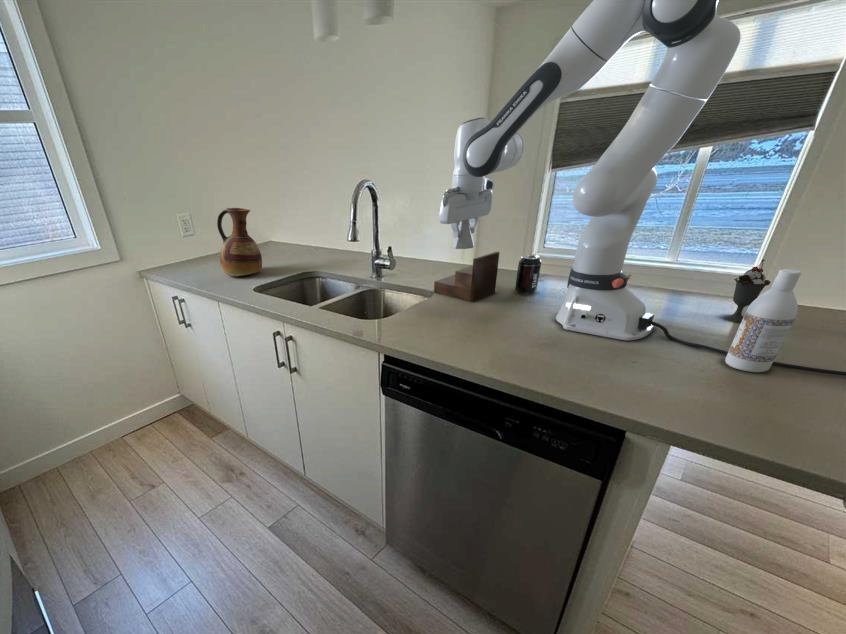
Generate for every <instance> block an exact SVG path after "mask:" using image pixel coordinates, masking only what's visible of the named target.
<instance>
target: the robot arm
mask: <svg viewBox="0 0 846 634" xmlns="http://www.w3.org/2000/svg"><path fill="white" fill-rule="evenodd" d="M719 2H720V0H592V2H590V4H588V6H587V7H586V8H585V9H584V11H582V13H581V14H580V15H579V16H578V17H577V18H576V19H575V21H574V23H573V24H572V25H571V26H570V28H568V30H567V31H566V33H565V34H564V35H563V37H562V38H561V39H560V40H559V41H558V43H557V44H556V45H555V47H554V48H553V49H552V51H551V52H550V53H549V54H548V56H547V57H546V58H545V60H543V62H542V63H541V64H540V65H539V66H538V67H537V69H536V70H535V71H534V72H533V73H532V74H531V76H529V78H528V79H527V80H526V81H525V82H524V83H523V84H522V85H521V86H520V87H519V89H518V90H517V91H516V92H515V93H514V94H513V96H512V97H511V98H510V99H509V101H508V102H507V103H506V104H504V106H503V107H502V109H500V111H499V112H498V113H497V114H496V116H495V117H494V118H493V119H492V120H491V121H490V120H489V119H488V118H486V117H477V118H472V119H469V120H466V121H464V122H462V123H461V124H460V125H459V126H458V127H457V131H456V135H455V140H454V147H453V148H454V149H453V161H454V169H453V171H452V179H451V180H452V183H451V188H447V189H446V191H445V192H444V193H443V194H442V199H441V201H440V207H439V215H438V221H439V223H440V224H441V225H442V224H443V225H450V227H451V229H452V232H453V233H452V237H453V238H455V237H456V238H457V237H460V236H461V231H459V225H460V221H464V220H469V222H470V229H471V233H472V234H474V233H475V230H476V226H477V225H478V222H479V218H480V217H485V216H488V215H489V214H490V212H491V211H492V205H493V196H494V195H493V194H494V193H493V189H494V188H495V181H494V180H492V179H490V178H488V177H485V176H488V175H491V174H494V173H499V172H504V171H507V170H509V169H512V168H513V167H515V166H516V165H517V164H518V163H519V161H520V159H521V158H522V155H523V152H524V141H523V138H522V136H521V135H520V134H519V131H520V130H521V129H522V128H523V127H524V126H525V125H526V124H527V123H528V122H529V121H530V120H531V118H532V117H533V116H534V115H535V114H536V113H538V112H539V111H540V110H541V109H542V108H543V107H545V106H547V105H548V104H550V103H552V102H554V101H555V100H556V101H557V100H558V99H560V98H563V97H566V96H568V95H571V94H573V93H576V92H578V91H579V90H581V89H582V88H584V87H585V86H586V84H588V83H589V82H590V81H592V80H593V79H594V78H595V77H596V76H597V75H598V74H599V73H600V72H601V71H602V70H603V69H604V68H605V67H606V65H607V64H608V63H609V62H610V61H611V60H612V59H613V58H614V56H616V54H617V53H618V52H619V51H620V50H621V48H623V47H624V46H625V45H626V43H627V42H629V41H630V40H631V39H632V38H634V37H635V36H637V35H639V34H640V33H643V32H646V33H649V34H650V36H652V37H654V38H655V39H656V40H657V41H659V42H660V43H661V44H663V45H664V46H665V47H666V48H667V50H666V54H665V57H664V59H663V61H662V62H661V65H660V67H659V69H658V70H657V72H656V73H655V76H654V77H653V78H652V80H651V82H650V84H648V86H647V89H646V90H645V93H644V94H643V95H642V97H641V98H640V100H639V102H638V103H637V105H636V107H635V109H634V110H633V112H632V114H631V115H630V116H629V118H628V119H627V122H626V123H625V124H624V125H623V127H622V129H621V130H620V132H619V133H618V134H617V136H616V137H615V138H614V140H613V141H612V142H611V143H610V144H609V146H608V147H607V148H606V150H605V151H604V152H603V153H602V154H601V156H600V157H599V158H598V159H597V161H596V162H595V163H594V165H593V166H592V167H591V168H590V170H589V171H588V172H586V174H584V175H583V176H582V178H580V179H579V181H578V182H577V183H576V184H575V186H574V189H573V191H572V204H573V207H574V208H575V210H576V211H577V212H578V213H580V214H581V215H582V216H587V217H590V218H589V220H588V223H587V225H586V226H585V228H584V230H583V232H582V233H581V235H580V236H579V238H578V240H577V246H576V251H575V255H574V260H573V265H572V267H571V268H570V270H569V274H568V279H567V285H566V288H567V290H566V293H565V296H564V299H563V302H562V305H561V307H560V308H559V311H558V312H557V314H556V316H555V320H556V321H557V322H558V324H561V325H562V328H563V329H564V330H566V331H571V332H578V333H584V334H588V335H592V336H593V335H594V336H598V337H604V338H610V339H616V340H621V341H627V342H629V341H636V340H639V339H643V338H645V337H647V336H649V335H650V334H651V333H652V332H653V330H654V327H657V328H658V329H660V330H661V331H663V334H664V335H665V337H666V338H667V339H669V340H671V341H673V342H676V343H678V344H679V343H680V344H683V345H685V346H689V347H694V348H700V349H703V350H707V351H710V352H714V353H719V354H722V355H725V356H727V354H728V352H729V350H724V349H721V348H716V347H712V346H709V345H705V344H700V343H695V342H689V341H685V340H681V339H679V338H677V337H675V336H673V335H671V334H670V333H669V330H668V329H667V328H666V326H664V325H662V324H660V323H658V322H655V321H653V320H654V318H655V314H654V313H650V312H647V309H646V304H645V303H644V302H643V301H642V300H641V299H640V298H638V296H636V295H635V294H634V293H633V292H632V291H631V289H629V288H628V287H627V284H628V281H629V280H631V278H632V277H631V276H632V274H628V275H627V274H626V273H625V271H623V266H624V263H625V260H626V255H627V252H628V248H629V246H630V242H631V239H632V236H633V234H634V231H635V230H636V227H637V225H638V223H639V221H640V219H641V216H642V214H643V212H644V210H645V207H646V205H647V202H648V200H649V198H650V197H651V196H652V194H653V192H654V191H655V189H656V187H657V185H658V173H657V170H656V169H655V167H656V166H657V164H658V163H660V161H661V160H662V159H663V158H664V157H665V156H666V154H667V153H669V152H670V150H672V149H673V148H674V147H675V146H676V145H677V144H678V143H679V141H680V140H681V138H682V137H683V136H684V134H685V133H686V132H687V130H688V129H689V128H690V126H691V124H692V123H693V121H694V120H695V119H696V117H697V116H698V114H699V113H700V111H701V110H702V108H703V107H704V106H705V104H706V103H707V101H708V100H709V99H710V97H711V96H712V94H713V92H714V91H715V89H716V88H717V86H718V85H719V83H720V81H721V80H722V79H723V76H724V75H725V73H726V71H727V69H728V68H729V66H730V64H731V62H732V60H733V59H734V57H735V54H736V53H737V51H738V48H739V47H740V44H741V40H742V32H741V29H740V27H739V26H738V25H737V24H736V23H735V22H733V21H731V20H729V19H727V18H722V17H720V16H719V15H718V13H717V8H718V7H717V6H718V4H719ZM771 366H774V367H781V368H784V369H785V368H786V369H793V370H799V371H806V372H812V373H820V374H827V375H836V376H843V377H844V376H845V377H846V371H841V370H833V369H825V368H819V367H811V366H804V365H799V364H798V365H797V364H790V363H783V362H778V361H773V363H772V365H771Z"/></svg>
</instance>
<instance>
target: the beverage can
mask: <svg viewBox="0 0 846 634" xmlns="http://www.w3.org/2000/svg"><path fill="white" fill-rule="evenodd" d="M540 258H541V255H538V254H524V255H521V258H520V259H519V260H518V264H517V271H516V278H515V287H514V290H515V291H516V292H517V293H518V294H519V295H532V294H533V293H535V292H537V290H538V285H539V279H540V273H541V267H542V260H541V259H540Z"/></svg>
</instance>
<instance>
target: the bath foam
mask: <svg viewBox="0 0 846 634" xmlns="http://www.w3.org/2000/svg"><path fill="white" fill-rule="evenodd" d="M801 275H802V271H801V270H798V269H790V268H784V269H783V268H782V269H779V270H778V274H777V275H776V277H775V279H774V281H773V283H772V286H771V288H770V289H768V290H767V291H765V292H764V293H762V294H760V295H759V296H758V297H757V298H756V299H755V300H754V301H753V302H752V303H751V304H750V305H748V306H747V309H746V310H745V313H744V315H743V319H742V322H740V325H739V326H738V329H737V331H736V334H735V335H734V338H733V340H732V342H731V345H730V347H729V349H728V354H727V355H725V358H724V362H725V363H726V365H728V366H729V367H731V368H733V369H736V370H739V371H743V372H747V373H749V372H750V373H764V372H767V371H769V370H770V368H771V367H772V366H773V365H772V363H773V362H775V359H776V358H777V355H778V354H779V352H780V349H781V348H782V346H783V344H784V341H785V340H786V337H787V336H788V333H789V332H790V330H791V328H792V326H793V324H794V322H795V320H796V318H797V315H798V311H799V306H798V301H797V298H796V296H795V293H794V289H795V287H796V285H797V283H798V281H799V280H800V276H801Z"/></svg>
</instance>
